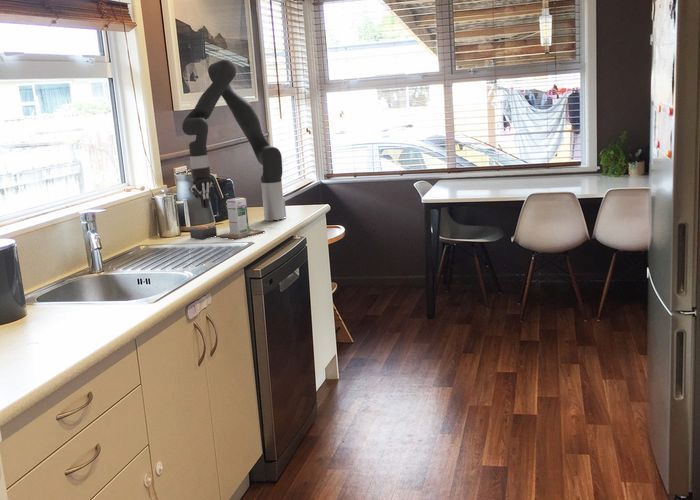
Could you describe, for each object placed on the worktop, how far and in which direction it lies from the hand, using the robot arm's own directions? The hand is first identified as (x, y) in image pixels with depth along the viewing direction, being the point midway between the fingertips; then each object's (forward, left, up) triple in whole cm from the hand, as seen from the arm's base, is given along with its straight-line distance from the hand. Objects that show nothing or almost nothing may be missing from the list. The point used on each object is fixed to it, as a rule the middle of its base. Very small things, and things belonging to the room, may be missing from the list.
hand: (205, 207), depth 321 cm
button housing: (+5, +4, -11) cm, 13 cm away
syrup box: (-4, +15, -11) cm, 19 cm away
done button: (+5, +4, -10) cm, 12 cm away
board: (-5, +15, -11) cm, 20 cm away
